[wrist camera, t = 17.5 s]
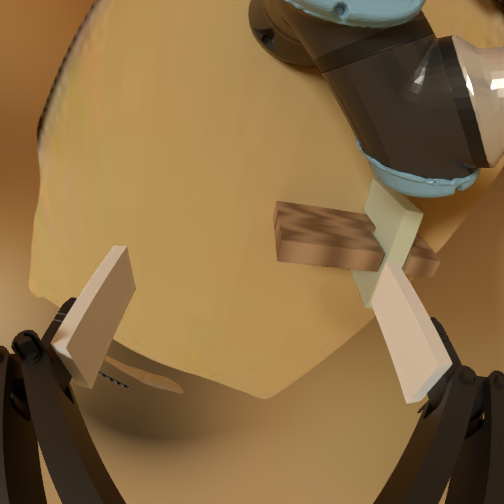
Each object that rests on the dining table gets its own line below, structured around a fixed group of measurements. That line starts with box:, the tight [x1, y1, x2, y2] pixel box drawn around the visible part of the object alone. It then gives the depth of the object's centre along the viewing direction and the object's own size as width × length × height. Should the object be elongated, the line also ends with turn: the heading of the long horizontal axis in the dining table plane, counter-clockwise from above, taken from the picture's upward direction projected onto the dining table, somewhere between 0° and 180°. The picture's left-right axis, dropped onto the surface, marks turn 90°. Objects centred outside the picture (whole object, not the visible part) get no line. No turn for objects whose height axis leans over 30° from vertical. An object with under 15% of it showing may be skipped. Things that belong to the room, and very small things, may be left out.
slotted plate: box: [350, 178, 424, 308], centre depth 41 cm, size 16×3×12 cm, turn 173°
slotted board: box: [273, 201, 441, 278], centre depth 40 cm, size 24×3×12 cm, turn 83°
